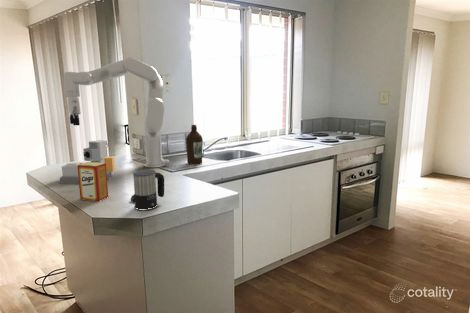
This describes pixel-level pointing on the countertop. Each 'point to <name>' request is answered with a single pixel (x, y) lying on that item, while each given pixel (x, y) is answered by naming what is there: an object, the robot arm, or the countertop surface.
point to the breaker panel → (73, 174)
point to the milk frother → (147, 188)
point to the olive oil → (194, 146)
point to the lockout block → (109, 163)
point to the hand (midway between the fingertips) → (74, 124)
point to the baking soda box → (92, 181)
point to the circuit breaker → (96, 151)
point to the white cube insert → (73, 163)
